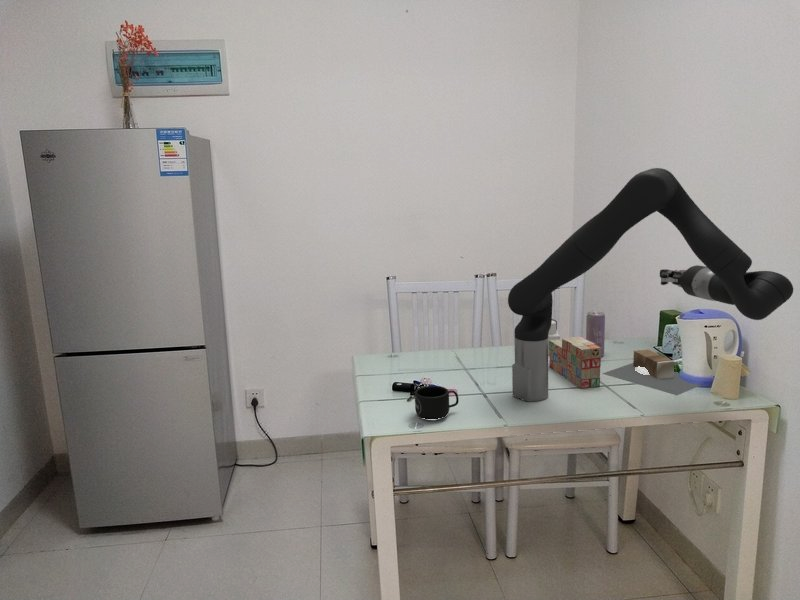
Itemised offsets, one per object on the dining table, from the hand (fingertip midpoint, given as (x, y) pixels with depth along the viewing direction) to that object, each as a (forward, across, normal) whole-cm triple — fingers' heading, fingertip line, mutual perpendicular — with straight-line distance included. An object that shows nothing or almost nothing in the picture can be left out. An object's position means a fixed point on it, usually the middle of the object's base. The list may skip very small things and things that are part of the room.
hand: (662, 273), depth 144 cm
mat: (+12, -8, +34) cm, 37 cm away
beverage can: (+37, -1, +34) cm, 51 cm away
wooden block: (+9, -9, +31) cm, 34 cm away
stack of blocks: (+20, +15, +34) cm, 42 cm away
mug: (+1, +62, +34) cm, 71 cm away
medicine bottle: (+45, +12, +34) cm, 58 cm away
